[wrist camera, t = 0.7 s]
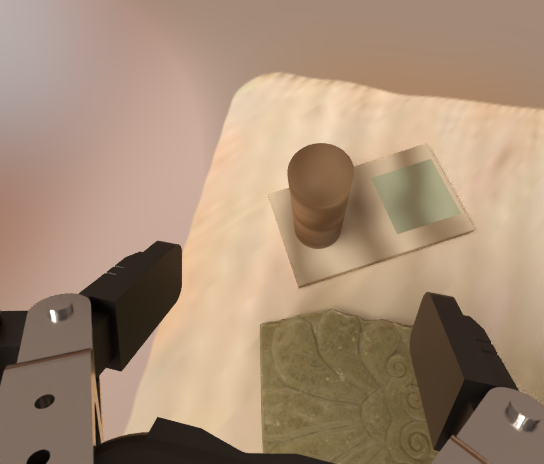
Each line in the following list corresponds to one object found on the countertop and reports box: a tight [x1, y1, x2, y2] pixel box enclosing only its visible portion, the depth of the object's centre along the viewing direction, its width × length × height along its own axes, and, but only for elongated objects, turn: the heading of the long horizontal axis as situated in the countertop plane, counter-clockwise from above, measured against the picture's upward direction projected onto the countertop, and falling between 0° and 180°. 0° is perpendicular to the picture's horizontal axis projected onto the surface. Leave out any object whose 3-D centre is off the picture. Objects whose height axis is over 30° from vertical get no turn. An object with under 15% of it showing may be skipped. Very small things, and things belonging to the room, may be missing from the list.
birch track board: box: [268, 144, 475, 288], centre depth 38 cm, size 19×11×1 cm, turn 107°
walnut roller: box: [288, 143, 354, 249], centre depth 32 cm, size 5×5×12 cm
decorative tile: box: [260, 309, 440, 464], centre depth 31 cm, size 19×20×4 cm
